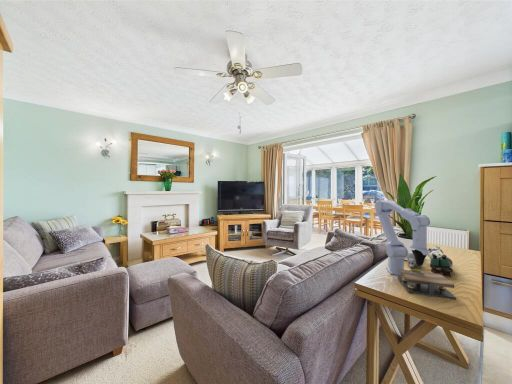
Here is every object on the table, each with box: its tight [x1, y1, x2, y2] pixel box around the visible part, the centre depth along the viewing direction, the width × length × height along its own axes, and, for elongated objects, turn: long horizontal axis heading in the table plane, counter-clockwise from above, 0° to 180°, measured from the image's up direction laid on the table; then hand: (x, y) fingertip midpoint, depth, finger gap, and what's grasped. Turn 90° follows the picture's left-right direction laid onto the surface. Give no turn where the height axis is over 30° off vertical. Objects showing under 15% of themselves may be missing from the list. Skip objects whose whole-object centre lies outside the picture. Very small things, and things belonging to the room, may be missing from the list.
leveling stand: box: [397, 276, 457, 300], centre depth 100 cm, size 15×18×6 cm
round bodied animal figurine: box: [406, 250, 420, 269], centre depth 129 cm, size 7×12×8 cm, turn 131°
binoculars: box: [429, 254, 453, 277], centre depth 116 cm, size 9×11×10 cm
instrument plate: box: [399, 268, 456, 289], centre depth 100 cm, size 12×18×3 cm, turn 71°
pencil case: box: [427, 245, 454, 270], centre depth 130 cm, size 22×8×10 cm, turn 149°
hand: (419, 264), depth 104 cm, fingers closed
